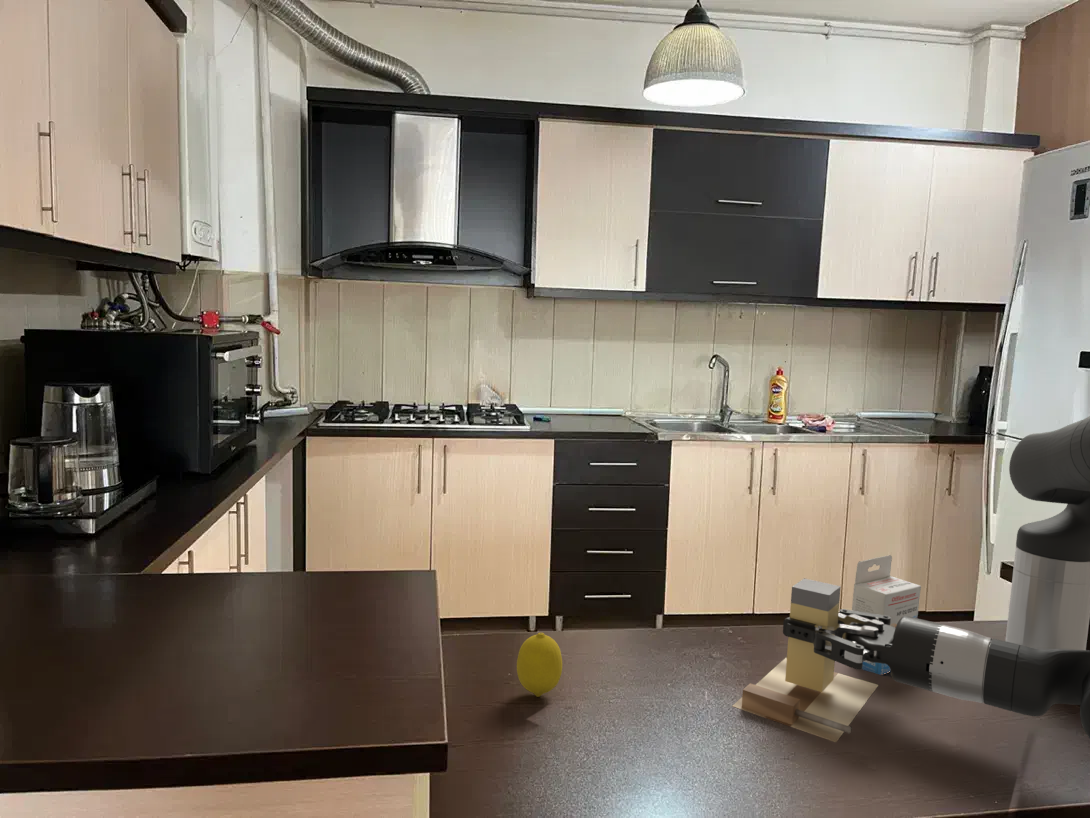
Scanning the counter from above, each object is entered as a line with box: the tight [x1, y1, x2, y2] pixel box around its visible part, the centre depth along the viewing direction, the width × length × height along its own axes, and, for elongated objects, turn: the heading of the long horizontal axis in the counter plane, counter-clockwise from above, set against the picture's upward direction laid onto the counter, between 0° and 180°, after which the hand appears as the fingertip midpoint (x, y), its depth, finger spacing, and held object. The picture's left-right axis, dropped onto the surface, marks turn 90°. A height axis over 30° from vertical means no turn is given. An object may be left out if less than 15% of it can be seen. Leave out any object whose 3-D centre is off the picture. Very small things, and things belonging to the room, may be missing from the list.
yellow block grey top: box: [785, 577, 841, 692], centre depth 95 cm, size 4×4×12 cm
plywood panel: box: [731, 657, 879, 743], centre depth 94 cm, size 18×12×1 cm, turn 143°
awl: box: [741, 682, 852, 734], centre depth 88 cm, size 2×12×2 cm, turn 53°
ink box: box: [851, 554, 922, 676], centre depth 106 cm, size 8×5×15 cm, turn 123°
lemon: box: [516, 632, 563, 698], centre depth 93 cm, size 6×6×8 cm
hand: (792, 620), depth 96 cm, fingers closed on yellow block grey top, 4 cm apart
